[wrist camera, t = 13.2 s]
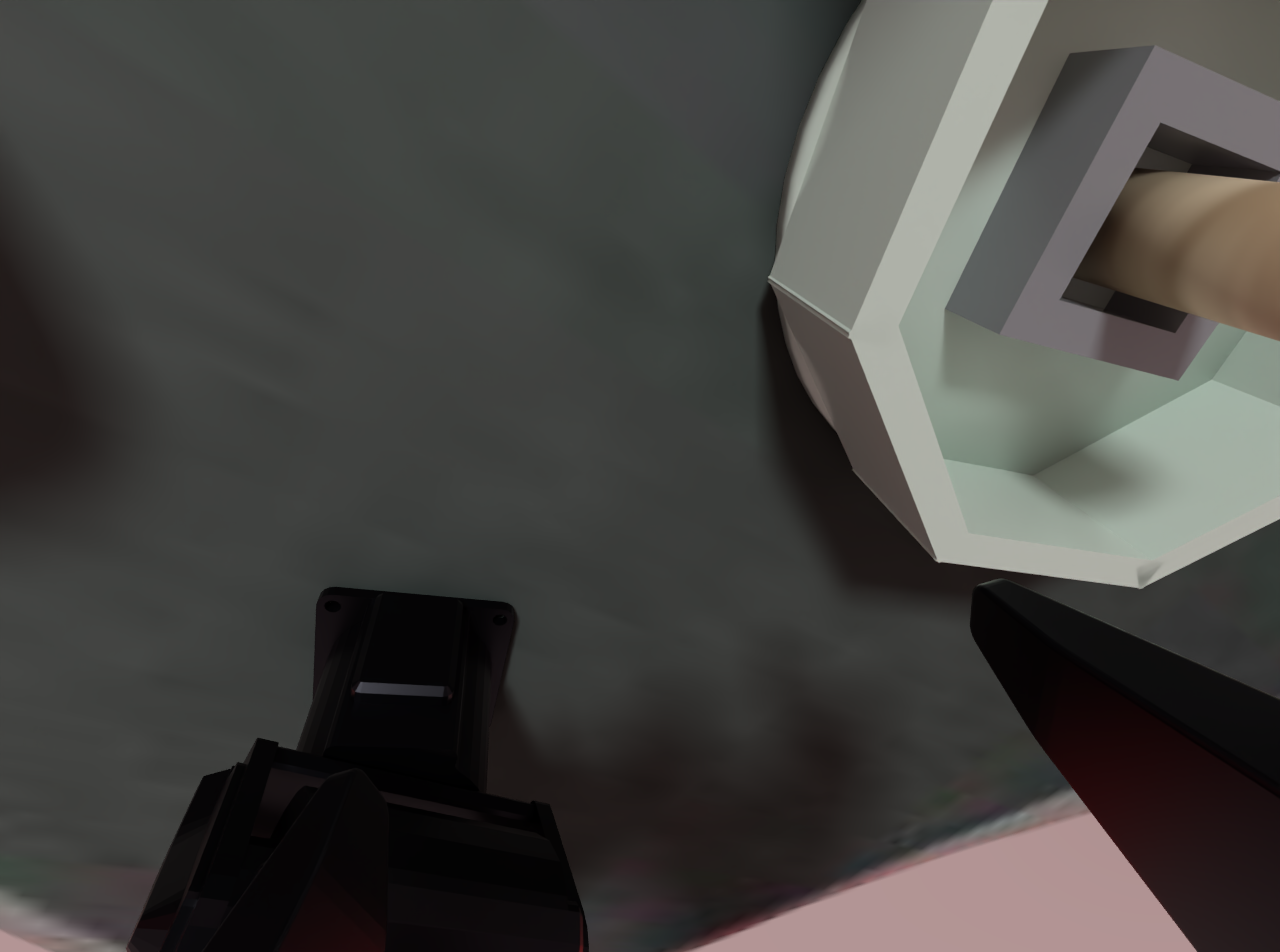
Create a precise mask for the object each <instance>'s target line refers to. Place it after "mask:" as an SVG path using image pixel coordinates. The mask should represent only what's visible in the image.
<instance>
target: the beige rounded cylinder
mask: <svg viewBox="0 0 1280 952" xmlns="http://www.w3.org/2000/svg"><path fill="white" fill-rule="evenodd" d="M1073 278H1076V279H1079V280H1082V281H1086V282H1089V283H1092V284H1095V285H1099V286H1102V287H1105V288H1108V289H1112V290H1115V291H1118V292H1121V293H1125V294H1128V295H1131V296H1134V297H1138V298H1141V299H1144V300H1147V301H1151V302H1154V303H1157V304H1160V305H1163V306H1167V307H1170V308H1173V309H1176V310H1180V311H1183V312H1186V313H1189V314H1193V315H1196V316H1199V317H1202V318H1206V319H1209V320H1212V321H1215V322H1219V323H1222V324H1225V325H1228V326H1231V327H1235V328H1238V329H1241V330H1244V331H1248V332H1251V333H1254V334H1257V335H1261V336H1264V337H1267V338H1270V339H1274V340H1277V341H1280V182H1272V181H1262V180H1252V179H1242V178H1233V177H1223V176H1213V175H1203V174H1193V173H1183V172H1173V171H1163V170H1153V169H1143V168H1134V170H1133V172H1132V173H1131V175H1130V177H1129V179H1128V181H1127V182H1126V184H1125V186H1124V188H1123V189H1122V191H1121V193H1120V195H1119V196H1118V198H1117V200H1116V202H1115V203H1114V205H1113V207H1112V209H1111V210H1110V212H1109V214H1108V216H1107V217H1106V219H1105V221H1104V223H1103V224H1102V226H1101V228H1100V230H1099V231H1098V233H1097V235H1096V237H1095V238H1094V240H1093V242H1092V244H1091V246H1090V247H1089V249H1088V251H1087V253H1086V254H1085V256H1084V258H1083V260H1082V261H1081V263H1080V265H1079V267H1078V268H1077V270H1076V272H1075V274H1074V275H1073Z"/></svg>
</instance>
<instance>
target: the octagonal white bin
mask: <svg viewBox="0 0 1280 952" xmlns="http://www.w3.org/2000/svg"><path fill="white" fill-rule="evenodd" d="M1134 168H1143V169H1153V170H1163V171H1173V172H1183V173H1193V174H1203V175H1213V176H1223V177H1233V178H1242V179H1252V180H1262V181H1272V182H1280V0H862V1H861V2H860V4H859V5H858V7H857V8H856V10H855V12H854V13H853V15H852V16H851V18H850V19H849V21H848V22H847V24H846V25H845V27H844V29H843V31H842V33H841V35H840V37H839V39H838V41H837V42H836V44H835V46H834V48H833V50H832V52H831V54H830V56H829V58H828V60H827V62H826V64H825V66H824V67H823V69H822V71H821V73H820V75H819V77H818V80H817V82H816V85H815V87H814V90H813V92H812V95H811V97H810V100H809V102H808V105H807V108H806V110H805V113H804V115H803V118H802V120H801V123H800V125H799V128H798V131H797V135H796V138H795V142H794V146H793V149H792V153H791V156H790V160H789V163H788V167H787V171H786V174H785V178H784V184H783V190H782V196H781V203H780V209H779V215H778V221H777V233H776V254H775V262H774V265H773V268H772V271H771V274H770V276H768V279H769V280H768V282H769V283H770V284H771V286H772V288H773V290H774V292H775V295H776V297H777V303H778V311H779V315H780V320H781V325H782V330H783V334H784V339H785V344H786V346H787V349H788V352H789V355H790V357H791V360H792V363H793V365H794V368H795V371H796V373H797V376H798V378H799V380H800V381H801V383H802V385H803V387H804V389H805V390H806V392H807V394H808V396H809V397H810V399H811V401H812V403H813V404H814V405H815V407H816V408H817V409H818V410H819V412H820V413H821V414H822V415H823V417H824V418H825V419H826V421H827V422H828V423H829V424H830V426H831V427H832V428H833V429H834V430H835V431H836V432H837V434H838V436H839V438H840V440H841V443H842V445H843V447H844V449H845V452H846V454H847V456H848V458H849V461H850V463H851V465H852V467H853V469H852V471H853V472H854V473H855V474H856V475H857V476H858V477H859V478H860V479H861V480H862V481H863V483H864V484H865V485H866V486H867V487H868V488H869V489H870V490H871V491H872V492H873V493H874V495H875V496H876V497H877V498H878V499H879V500H880V501H881V502H882V503H883V504H884V505H885V506H886V508H887V509H888V510H889V511H890V512H891V513H892V514H893V515H894V516H895V517H896V518H897V520H898V521H899V522H900V523H901V524H902V525H903V526H904V527H905V528H906V529H907V530H908V531H909V533H910V534H911V535H912V536H913V537H914V538H915V539H916V540H917V541H918V542H919V543H920V545H921V546H922V547H923V548H924V549H925V550H926V551H927V552H928V553H929V554H930V555H931V556H932V558H933V559H934V560H935V561H937V562H938V563H940V562H946V563H953V564H961V565H969V566H976V567H984V568H992V569H999V570H1007V571H1014V572H1022V573H1030V574H1037V575H1045V576H1053V577H1060V578H1068V579H1075V580H1083V581H1091V582H1098V583H1106V584H1113V585H1121V586H1129V587H1136V588H1138V589H1141V588H1144V586H1146V585H1148V584H1150V583H1152V582H1154V581H1156V580H1158V579H1160V578H1162V577H1164V576H1166V575H1168V574H1170V573H1172V572H1174V571H1176V570H1178V569H1180V568H1182V567H1184V566H1186V565H1188V564H1190V563H1192V562H1194V561H1196V560H1198V559H1200V558H1202V557H1204V556H1206V555H1208V554H1210V553H1212V552H1214V551H1216V550H1218V549H1220V548H1222V547H1224V546H1226V545H1228V544H1230V543H1232V542H1234V541H1236V540H1238V539H1240V538H1242V537H1244V536H1246V535H1248V534H1250V533H1252V532H1254V531H1256V530H1258V529H1260V528H1262V527H1264V526H1266V525H1268V524H1270V523H1272V522H1274V521H1276V520H1278V519H1280V341H1277V340H1274V339H1270V338H1267V337H1264V336H1261V335H1257V334H1254V333H1251V332H1248V331H1244V330H1241V329H1238V328H1235V327H1231V326H1228V325H1225V324H1222V323H1219V322H1215V321H1212V320H1209V319H1206V318H1202V317H1199V316H1196V315H1193V314H1189V313H1186V312H1183V311H1180V310H1176V309H1173V308H1170V307H1167V306H1163V305H1160V304H1157V303H1154V302H1151V301H1147V300H1144V299H1141V298H1138V297H1134V296H1131V295H1128V294H1125V293H1121V292H1118V291H1115V290H1112V289H1108V288H1105V287H1102V286H1099V285H1095V284H1092V283H1089V282H1086V281H1082V280H1079V279H1076V278H1073V275H1074V274H1075V272H1076V270H1077V268H1078V267H1079V265H1080V263H1081V261H1082V260H1083V258H1084V256H1085V254H1086V253H1087V251H1088V249H1089V247H1090V246H1091V244H1092V242H1093V240H1094V238H1095V237H1096V235H1097V233H1098V231H1099V230H1100V228H1101V226H1102V224H1103V223H1104V221H1105V219H1106V217H1107V216H1108V214H1109V212H1110V210H1111V209H1112V207H1113V205H1114V203H1115V202H1116V200H1117V198H1118V196H1119V195H1120V193H1121V191H1122V189H1123V188H1124V186H1125V184H1126V182H1127V181H1128V179H1129V177H1130V175H1131V173H1132V172H1133V170H1134Z"/></svg>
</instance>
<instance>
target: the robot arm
mask: <svg viewBox="0 0 1280 952" xmlns="http://www.w3.org/2000/svg"><path fill="white" fill-rule="evenodd" d="M329 601H337V602H338V603H339V604H332V603H330V602H329ZM496 615H504V617H503V618H498V617H495V616H496ZM513 623H514V609H513V607H512V606H511V605H509V604H508V603H505V602H498V601H487V600H475V599H464V598H453V597H442V596H431V595H420V594H408V593H397V592H386V591H375V590H364V589H353V588H342V587H330V588H327V589H324V590H323V591H322V592H321V594H320V596H319V599H318V601H317V604H316V627H315V655H314V682H313V702H312V705H311V708H310V711H309V714H308V717H307V720H306V723H305V725H304V728H303V731H302V734H301V737H300V740H299V743H298V746H297V749H296V750H292V749H288V748H283V747H279V746H278V743H279V742H274V741H270V740H265V739H261V738H257V739H256V741H255V743H254V745H253V746H252V748H251V750H250V752H249V754H248V756H247V757H246V759H245V761H244V763H239V762H237V764H236V765H235V766H232V768H231V769H228V770H225V771H221V772H217V773H214V774H210V775H206V776H203V778H202V780H201V782H200V784H199V786H198V788H197V790H196V792H195V794H194V796H193V798H192V801H191V803H190V805H189V807H188V809H187V811H186V813H185V816H184V818H183V820H182V822H181V824H180V826H179V828H178V831H177V833H176V835H175V837H174V839H173V841H172V844H171V846H170V848H169V850H168V852H167V854H166V857H165V859H164V861H163V863H162V866H161V868H160V870H159V872H158V875H157V877H156V879H155V882H154V884H153V886H152V889H151V891H150V893H149V896H148V898H147V900H146V903H145V905H144V907H143V910H142V912H141V914H140V917H139V919H138V921H137V924H136V926H135V928H134V930H133V933H132V935H131V937H130V940H129V942H128V944H127V947H126V950H127V952H589V943H588V931H587V924H586V920H585V915H584V911H583V908H582V905H581V901H580V898H579V895H578V892H577V889H576V886H575V882H574V879H573V876H572V873H571V870H570V867H569V864H568V860H567V857H566V854H565V851H564V848H563V845H562V841H561V838H560V835H559V832H558V829H557V826H556V822H555V819H554V816H553V813H552V810H551V807H550V805H549V804H546V803H542V802H537V801H532V802H531V803H527V802H523V801H518V800H514V799H509V798H505V797H500V796H496V795H491V794H487V793H486V788H487V765H488V742H489V727H490V725H491V721H492V717H493V712H494V708H495V704H496V699H497V695H498V690H499V686H500V681H501V677H502V672H503V668H504V663H505V659H506V655H507V650H508V646H509V641H510V637H511V632H512V628H513ZM970 629H971V633H972V636H973V638H974V640H975V642H976V644H977V646H978V647H979V649H980V650H981V652H982V654H983V655H984V657H985V659H986V660H987V662H988V663H989V665H990V667H991V668H992V670H993V672H994V673H995V675H996V676H997V678H998V680H999V681H1000V683H1001V685H1002V686H1003V688H1004V690H1005V691H1006V693H1007V694H1008V696H1009V698H1010V699H1011V701H1012V703H1013V704H1014V706H1015V707H1016V709H1017V711H1018V712H1019V714H1020V716H1021V717H1022V719H1023V720H1024V722H1025V724H1026V725H1027V727H1028V728H1029V730H1030V731H1031V733H1032V734H1033V736H1034V737H1035V739H1036V740H1037V742H1038V743H1039V744H1040V746H1041V747H1042V748H1043V750H1044V751H1045V753H1046V754H1047V755H1048V756H1049V758H1050V759H1051V760H1052V762H1053V763H1054V764H1055V766H1056V767H1057V768H1058V770H1059V771H1060V772H1061V774H1062V775H1063V776H1064V777H1065V779H1066V780H1067V781H1068V783H1069V784H1070V785H1071V787H1072V788H1073V789H1074V791H1075V792H1076V793H1077V795H1078V796H1079V797H1080V798H1081V800H1082V801H1083V802H1084V804H1085V805H1086V806H1087V808H1088V809H1089V810H1090V812H1091V813H1092V814H1093V815H1094V817H1095V818H1096V819H1097V821H1098V822H1099V823H1100V825H1101V826H1102V827H1103V829H1104V830H1105V831H1106V833H1107V834H1108V835H1109V837H1110V838H1111V839H1112V840H1113V842H1114V843H1115V844H1116V846H1117V847H1118V848H1119V850H1120V851H1121V852H1122V854H1123V855H1124V856H1125V858H1126V859H1127V860H1128V861H1129V863H1130V864H1131V865H1132V867H1133V868H1134V869H1135V871H1136V872H1137V873H1138V875H1139V876H1140V877H1141V879H1142V880H1143V881H1144V882H1145V884H1146V885H1147V886H1148V888H1149V889H1150V890H1151V892H1152V893H1153V894H1154V896H1155V897H1156V898H1157V899H1158V901H1159V902H1160V903H1161V905H1162V906H1163V907H1164V909H1165V910H1166V911H1167V913H1168V914H1169V915H1170V917H1171V918H1172V919H1173V921H1174V922H1175V923H1176V924H1177V926H1178V927H1179V928H1180V930H1181V931H1182V932H1183V934H1184V935H1185V936H1186V938H1187V939H1188V940H1189V942H1190V943H1191V944H1192V945H1193V947H1194V948H1195V949H1196V951H1197V952H1280V699H1279V698H1276V697H1274V696H1272V695H1270V694H1267V693H1265V692H1263V691H1261V690H1258V689H1256V688H1254V687H1251V686H1249V685H1247V684H1245V683H1242V682H1240V681H1238V680H1235V679H1233V678H1231V677H1229V676H1226V675H1224V674H1222V673H1220V672H1217V671H1215V670H1213V669H1210V668H1208V667H1206V666H1204V665H1201V664H1199V663H1197V662H1194V661H1192V660H1190V659H1188V658H1185V657H1183V656H1181V655H1179V654H1176V653H1174V652H1172V651H1169V650H1167V649H1165V648H1163V647H1160V646H1158V645H1156V644H1153V643H1151V642H1149V641H1147V640H1144V639H1142V638H1140V637H1138V636H1135V635H1133V634H1131V633H1128V632H1126V631H1124V630H1122V629H1119V628H1117V627H1115V626H1112V625H1110V624H1108V623H1106V622H1103V621H1101V620H1099V619H1097V618H1094V617H1092V616H1090V615H1087V614H1085V613H1083V612H1081V611H1078V610H1076V609H1074V608H1071V607H1069V606H1067V605H1065V604H1062V603H1060V602H1058V601H1056V600H1053V599H1051V598H1049V597H1046V596H1044V595H1042V594H1040V593H1037V592H1035V591H1033V590H1030V589H1028V588H1026V587H1024V586H1021V585H1019V584H1017V583H1015V582H1012V581H1010V580H1007V579H996V580H992V581H989V582H986V583H982V584H979V585H977V586H976V587H975V588H974V590H973V593H972V604H971V617H970Z"/></svg>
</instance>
